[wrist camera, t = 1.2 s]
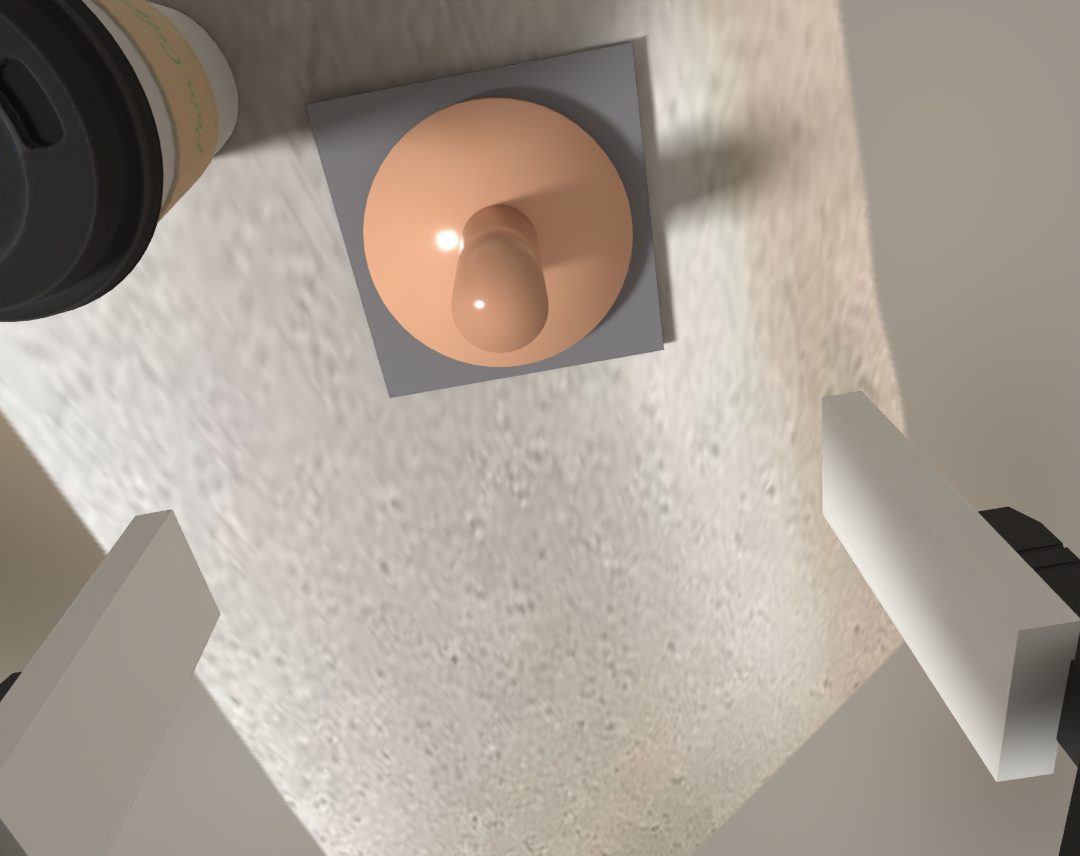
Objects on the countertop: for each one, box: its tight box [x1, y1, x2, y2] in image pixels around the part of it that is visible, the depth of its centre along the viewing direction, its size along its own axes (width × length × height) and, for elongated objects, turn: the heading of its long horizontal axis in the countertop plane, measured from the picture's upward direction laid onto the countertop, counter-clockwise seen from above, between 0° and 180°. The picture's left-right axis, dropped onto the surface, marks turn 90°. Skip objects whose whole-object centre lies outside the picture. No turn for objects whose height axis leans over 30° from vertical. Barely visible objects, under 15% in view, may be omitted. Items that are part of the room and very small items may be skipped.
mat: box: [305, 42, 664, 398], centre depth 34 cm, size 13×13×1 cm
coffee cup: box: [0, 0, 239, 322], centre depth 25 cm, size 9×9×15 cm
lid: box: [363, 97, 633, 367], centre depth 30 cm, size 11×11×9 cm
